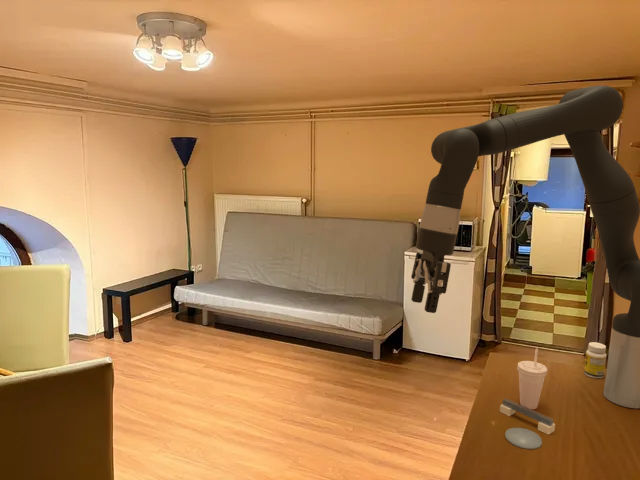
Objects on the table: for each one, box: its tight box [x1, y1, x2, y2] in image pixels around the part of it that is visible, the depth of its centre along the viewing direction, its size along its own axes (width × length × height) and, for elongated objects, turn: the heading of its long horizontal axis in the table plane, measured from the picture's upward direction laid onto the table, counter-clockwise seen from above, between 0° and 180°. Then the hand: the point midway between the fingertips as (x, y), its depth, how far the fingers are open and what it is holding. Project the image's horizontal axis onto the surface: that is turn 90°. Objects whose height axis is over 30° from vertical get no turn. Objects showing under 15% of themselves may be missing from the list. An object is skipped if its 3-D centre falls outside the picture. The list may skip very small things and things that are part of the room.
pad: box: [504, 427, 543, 450], centre depth 101 cm, size 7×7×1 cm
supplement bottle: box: [583, 341, 607, 379], centre depth 130 cm, size 5×5×8 cm
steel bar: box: [502, 398, 554, 426], centre depth 108 cm, size 11×1×1 cm, turn 38°
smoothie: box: [516, 347, 548, 410], centre depth 114 cm, size 6×6×14 cm
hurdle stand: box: [499, 403, 556, 435], centre depth 108 cm, size 11×2×2 cm, turn 38°
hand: (422, 306), depth 101 cm, fingers open, 8 cm apart
